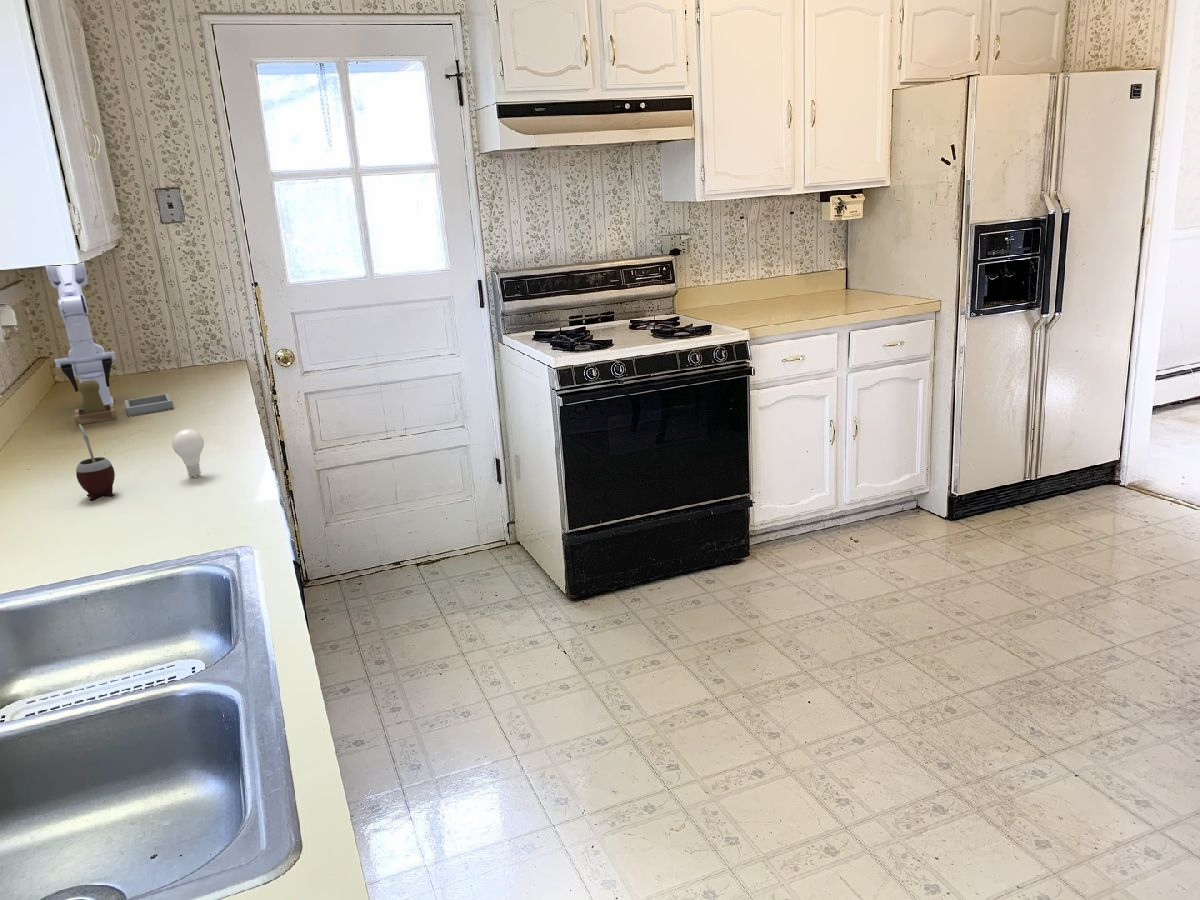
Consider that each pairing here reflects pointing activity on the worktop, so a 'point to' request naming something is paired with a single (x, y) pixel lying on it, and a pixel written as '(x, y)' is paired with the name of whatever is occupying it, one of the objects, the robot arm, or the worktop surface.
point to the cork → (91, 397)
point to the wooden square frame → (95, 415)
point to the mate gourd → (95, 474)
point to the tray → (148, 404)
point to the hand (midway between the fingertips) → (92, 388)
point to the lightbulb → (189, 449)
